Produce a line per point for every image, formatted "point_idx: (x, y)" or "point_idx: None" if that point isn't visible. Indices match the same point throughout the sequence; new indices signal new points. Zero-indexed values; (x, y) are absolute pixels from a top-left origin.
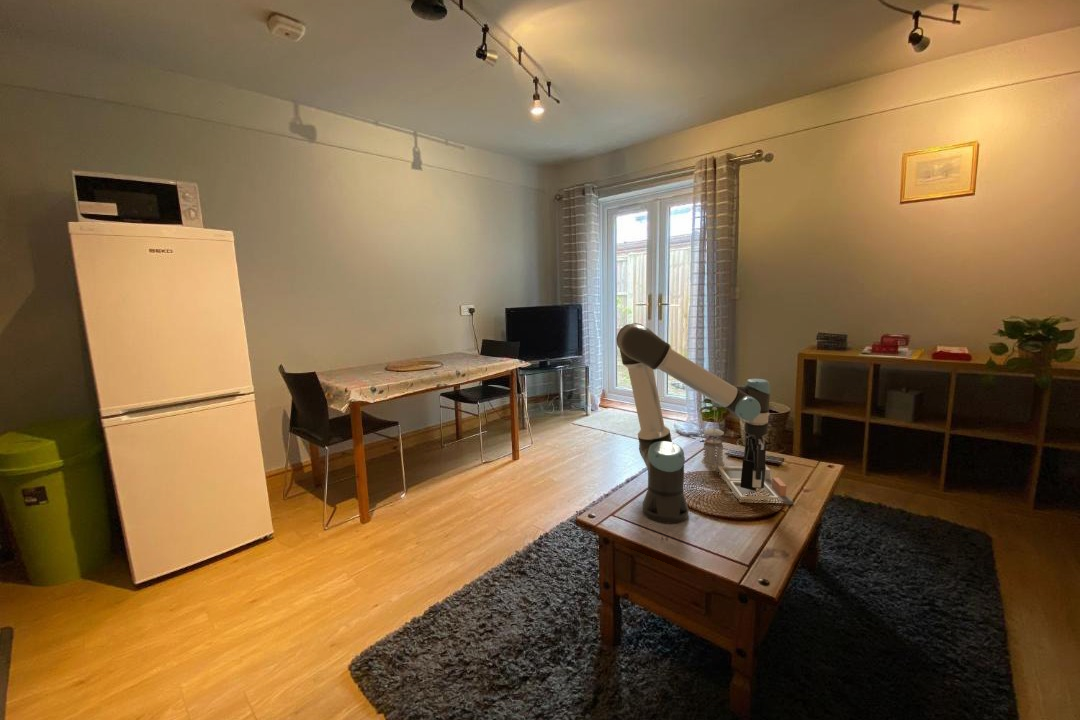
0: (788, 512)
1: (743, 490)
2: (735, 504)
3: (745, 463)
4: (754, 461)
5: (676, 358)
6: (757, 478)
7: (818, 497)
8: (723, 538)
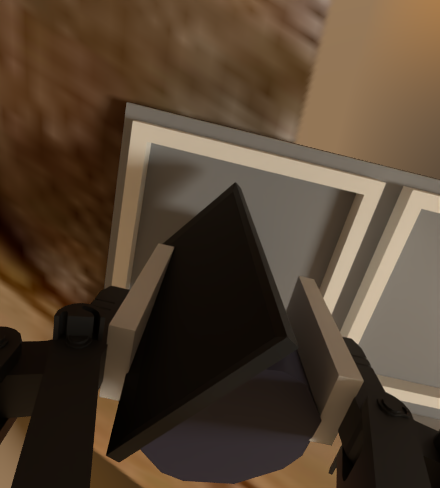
0: (22, 304)
1: (253, 212)
2: (119, 65)
3: (245, 322)
4: (67, 430)
5: None
6: (98, 297)
7: (155, 485)
8: None
